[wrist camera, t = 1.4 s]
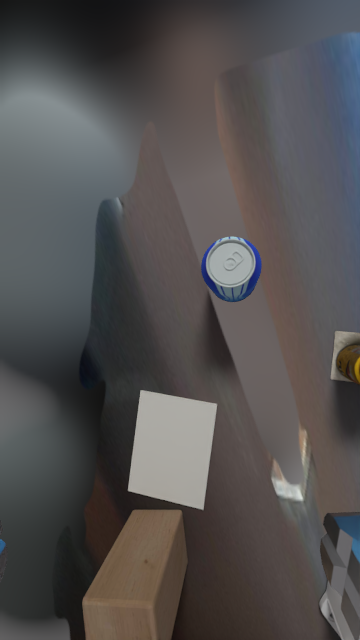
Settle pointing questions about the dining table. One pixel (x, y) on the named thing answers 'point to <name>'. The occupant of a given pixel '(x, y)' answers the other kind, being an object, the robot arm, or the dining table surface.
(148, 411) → the mat
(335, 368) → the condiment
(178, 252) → the dining table surface
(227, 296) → the beer can
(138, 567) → the wooden block
